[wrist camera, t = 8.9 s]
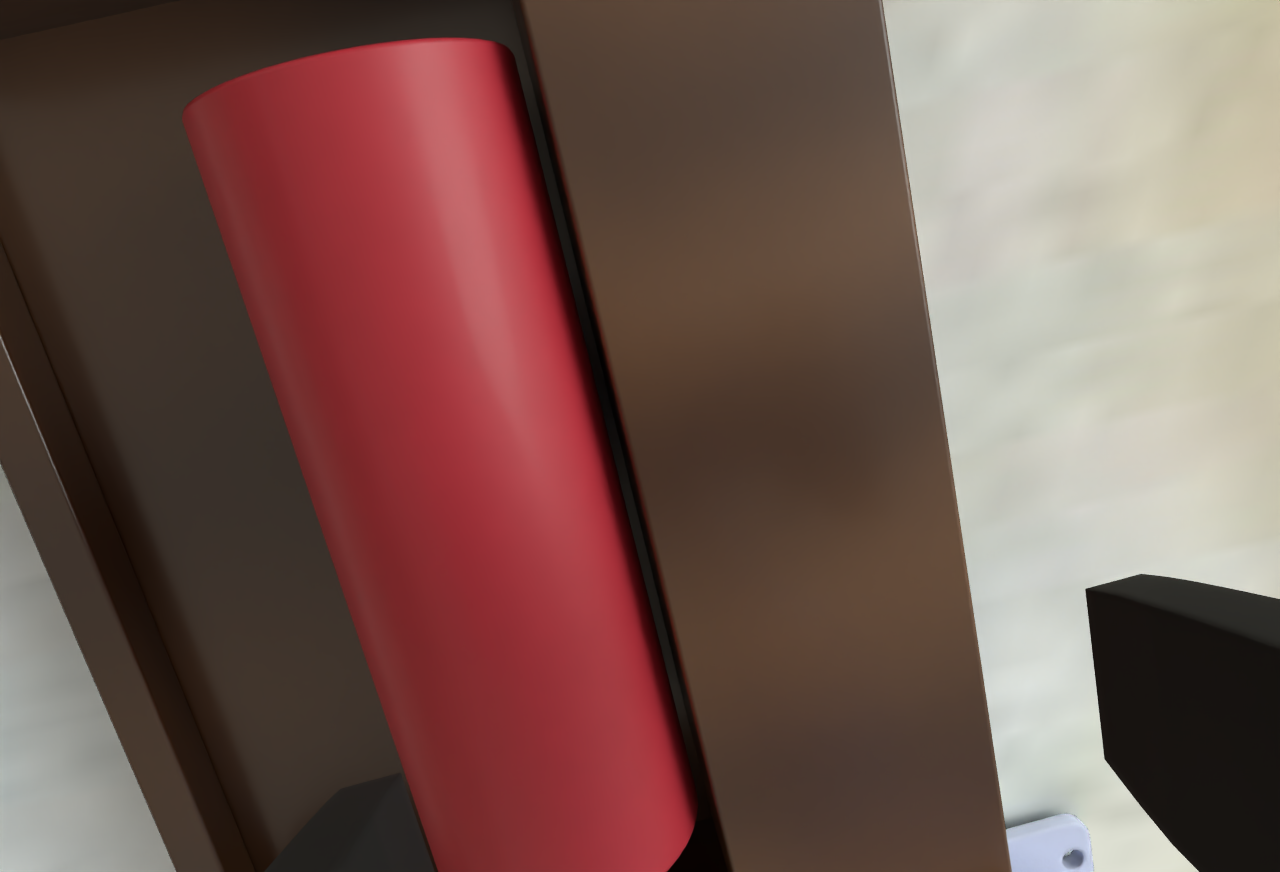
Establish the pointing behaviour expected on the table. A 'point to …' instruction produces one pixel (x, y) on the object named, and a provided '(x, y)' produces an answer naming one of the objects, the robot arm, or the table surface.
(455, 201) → the red cylinder
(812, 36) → the dark wooden tray
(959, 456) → the table surface
